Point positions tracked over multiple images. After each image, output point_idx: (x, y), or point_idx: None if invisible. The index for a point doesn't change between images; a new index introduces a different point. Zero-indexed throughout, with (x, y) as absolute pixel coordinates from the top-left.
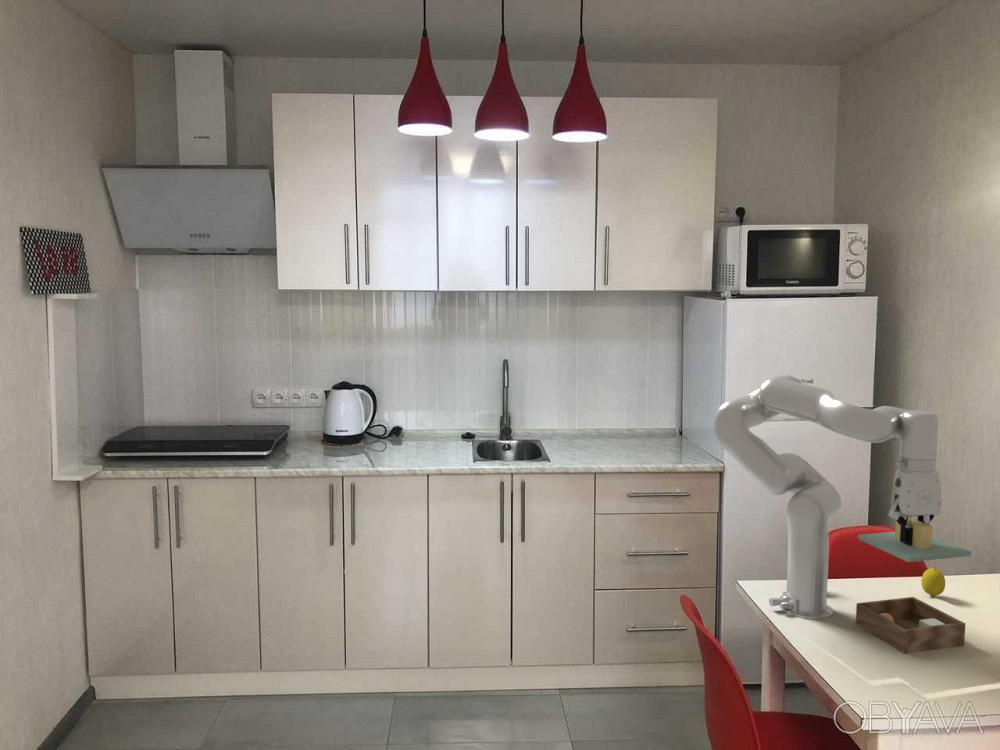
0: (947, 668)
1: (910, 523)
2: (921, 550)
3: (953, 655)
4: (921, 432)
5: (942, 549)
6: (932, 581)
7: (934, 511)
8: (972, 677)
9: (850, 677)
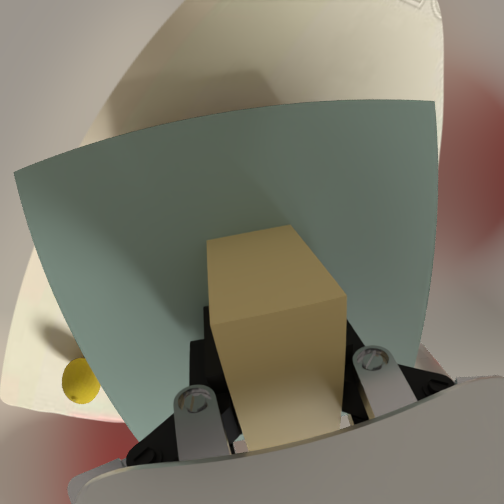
0: (228, 57)
1: (368, 375)
2: (300, 197)
3: (177, 109)
4: None
5: (152, 208)
6: (85, 375)
7: (157, 488)
8: (203, 22)
9: (415, 69)
